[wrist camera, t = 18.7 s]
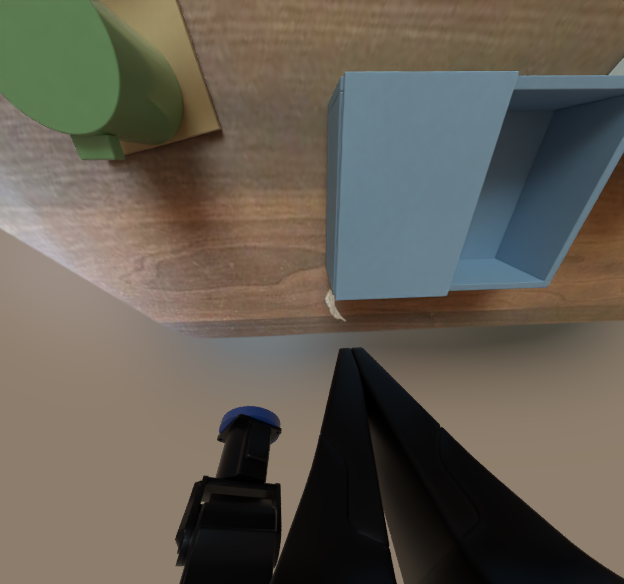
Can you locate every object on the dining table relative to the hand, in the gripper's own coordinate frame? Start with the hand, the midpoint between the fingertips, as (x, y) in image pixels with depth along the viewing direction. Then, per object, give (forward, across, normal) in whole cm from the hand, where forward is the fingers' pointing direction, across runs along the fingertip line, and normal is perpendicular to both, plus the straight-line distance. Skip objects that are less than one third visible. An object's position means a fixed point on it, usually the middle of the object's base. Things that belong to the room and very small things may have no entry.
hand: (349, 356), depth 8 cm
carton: (+12, -8, -4) cm, 15 cm away
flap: (+7, -4, -4) cm, 9 cm away
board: (+12, +14, -27) cm, 33 cm away
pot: (+12, +11, -10) cm, 19 cm away
